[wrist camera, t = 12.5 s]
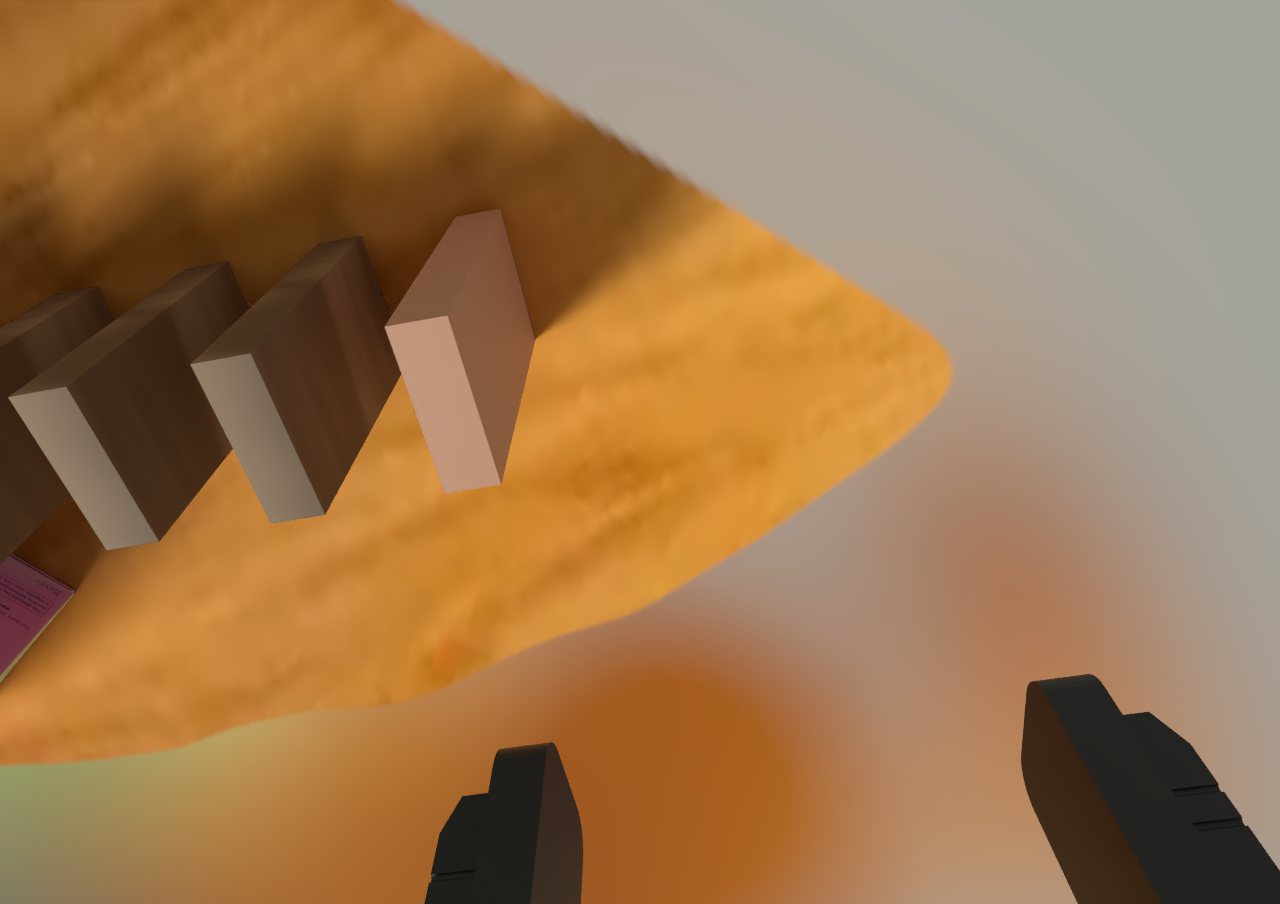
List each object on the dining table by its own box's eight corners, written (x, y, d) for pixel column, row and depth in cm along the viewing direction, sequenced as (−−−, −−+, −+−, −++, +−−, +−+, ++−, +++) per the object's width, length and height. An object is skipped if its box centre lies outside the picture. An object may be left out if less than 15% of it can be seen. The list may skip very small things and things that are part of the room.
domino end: (494, 346, 32) (444, 493, 23) (455, 216, 29) (384, 326, 21) (535, 339, 32) (501, 484, 23) (500, 208, 29) (447, 315, 20)
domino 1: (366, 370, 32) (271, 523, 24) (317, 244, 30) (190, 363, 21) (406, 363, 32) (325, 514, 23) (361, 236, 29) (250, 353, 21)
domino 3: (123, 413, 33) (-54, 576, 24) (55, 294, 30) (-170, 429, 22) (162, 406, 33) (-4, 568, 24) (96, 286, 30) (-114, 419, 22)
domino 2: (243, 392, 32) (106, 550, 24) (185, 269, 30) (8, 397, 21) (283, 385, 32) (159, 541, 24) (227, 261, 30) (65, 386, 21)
